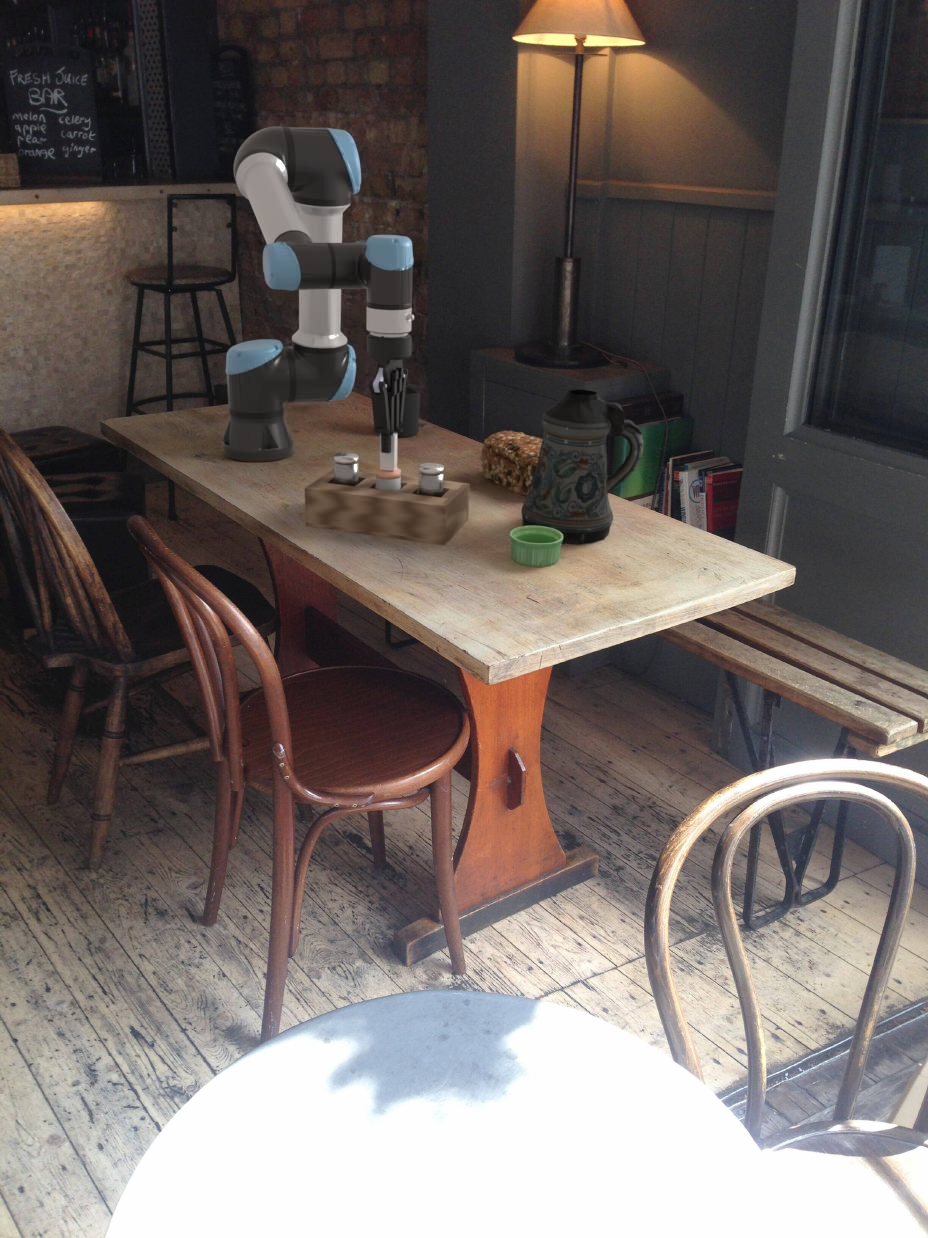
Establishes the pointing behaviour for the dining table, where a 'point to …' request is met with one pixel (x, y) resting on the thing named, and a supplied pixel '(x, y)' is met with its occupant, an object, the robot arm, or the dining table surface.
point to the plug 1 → (346, 469)
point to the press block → (387, 508)
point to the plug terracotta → (388, 480)
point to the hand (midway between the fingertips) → (388, 468)
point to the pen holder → (410, 413)
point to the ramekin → (535, 545)
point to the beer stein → (579, 467)
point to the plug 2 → (431, 479)
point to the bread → (511, 459)
